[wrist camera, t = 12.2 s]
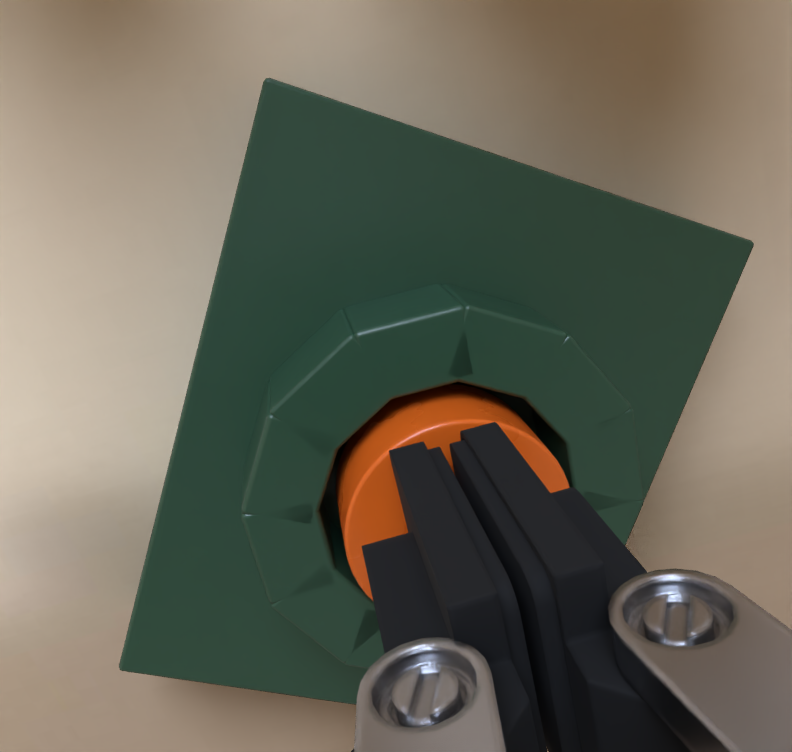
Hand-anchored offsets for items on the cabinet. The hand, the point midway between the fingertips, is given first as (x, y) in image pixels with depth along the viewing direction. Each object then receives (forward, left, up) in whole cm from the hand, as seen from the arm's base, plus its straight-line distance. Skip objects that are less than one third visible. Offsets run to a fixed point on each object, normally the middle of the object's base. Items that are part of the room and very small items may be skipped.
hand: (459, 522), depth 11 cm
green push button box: (0, 0, -5) cm, 5 cm away
